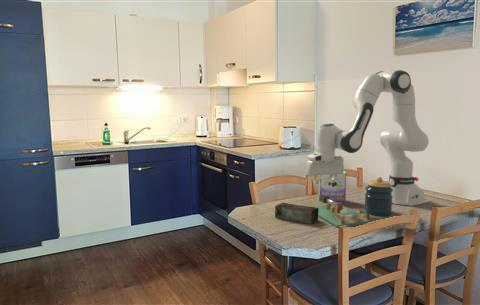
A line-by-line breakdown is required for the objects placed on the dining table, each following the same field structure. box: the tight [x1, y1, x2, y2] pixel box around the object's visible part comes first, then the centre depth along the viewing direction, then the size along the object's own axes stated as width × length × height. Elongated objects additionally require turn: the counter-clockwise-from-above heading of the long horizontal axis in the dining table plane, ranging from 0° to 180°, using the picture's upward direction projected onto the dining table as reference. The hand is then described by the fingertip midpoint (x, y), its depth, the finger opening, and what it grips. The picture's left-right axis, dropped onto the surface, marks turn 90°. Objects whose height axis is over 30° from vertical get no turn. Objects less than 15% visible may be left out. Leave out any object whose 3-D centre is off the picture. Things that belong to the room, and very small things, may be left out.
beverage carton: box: [274, 202, 319, 225], centre depth 186 cm, size 8×19×7 cm, turn 57°
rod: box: [318, 195, 344, 213], centre depth 198 cm, size 17×3×5 cm, turn 18°
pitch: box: [309, 203, 376, 228], centre depth 191 cm, size 20×30×3 cm, turn 18°
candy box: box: [318, 170, 347, 203], centre depth 218 cm, size 14×6×16 cm, turn 80°
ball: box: [340, 209, 348, 216], centre depth 187 cm, size 4×4×4 cm
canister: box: [363, 176, 393, 217], centre depth 196 cm, size 13×13×18 cm
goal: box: [335, 209, 370, 224], centre depth 181 cm, size 14×6×4 cm, turn 108°
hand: (324, 183), depth 202 cm, fingers open, 8 cm apart
